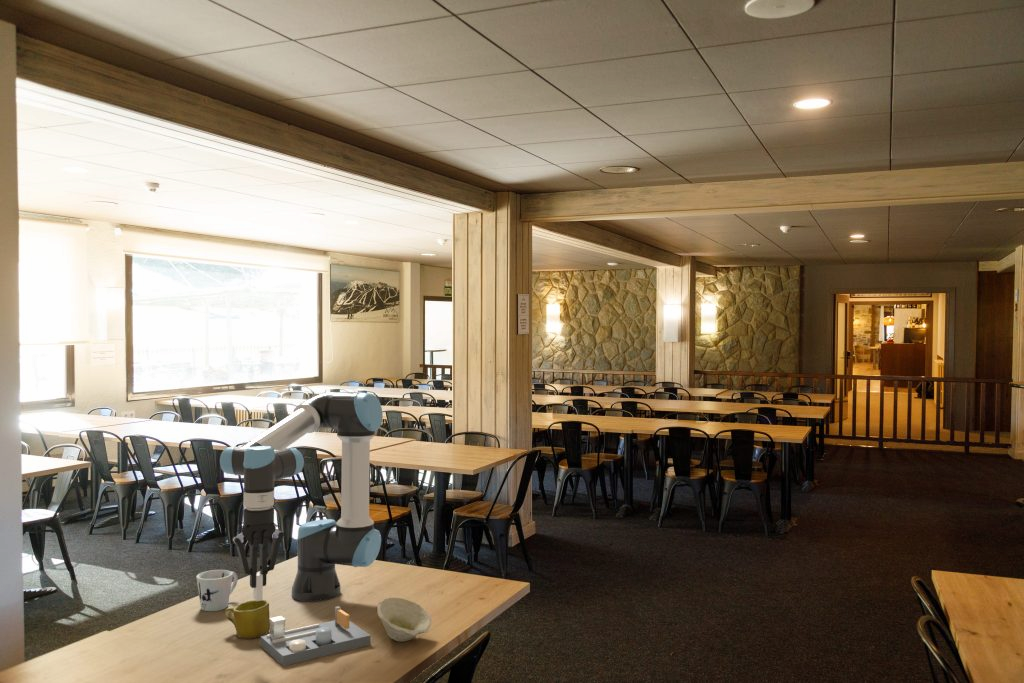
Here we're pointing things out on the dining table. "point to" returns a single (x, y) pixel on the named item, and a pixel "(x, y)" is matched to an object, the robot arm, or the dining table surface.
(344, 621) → the paddle
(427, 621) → the bowl
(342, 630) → the panel
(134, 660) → the dining table surface
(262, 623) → the mug
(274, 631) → the slider knob
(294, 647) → the button ivory
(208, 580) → the mug
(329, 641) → the button bluegrey
